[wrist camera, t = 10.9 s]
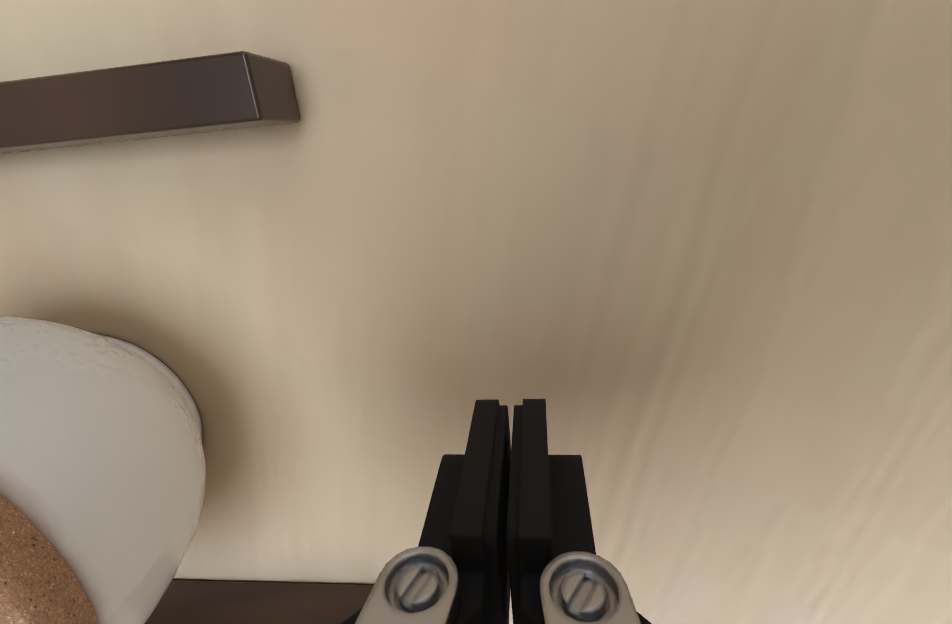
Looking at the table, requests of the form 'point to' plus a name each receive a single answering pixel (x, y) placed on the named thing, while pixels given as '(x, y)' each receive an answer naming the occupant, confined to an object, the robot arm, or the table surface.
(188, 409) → the trinket box
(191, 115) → the frame
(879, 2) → the table surface
